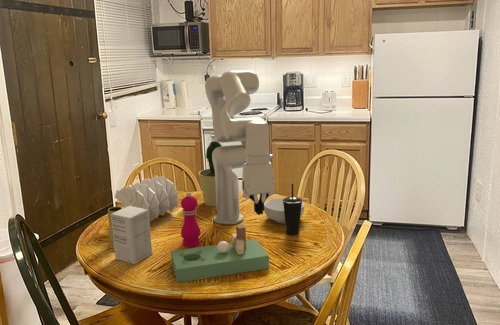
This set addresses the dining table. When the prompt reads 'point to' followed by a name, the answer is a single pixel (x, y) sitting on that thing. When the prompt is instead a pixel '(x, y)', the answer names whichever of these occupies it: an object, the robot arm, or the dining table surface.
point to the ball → (223, 247)
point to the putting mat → (217, 261)
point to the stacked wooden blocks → (239, 239)
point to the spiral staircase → (150, 196)
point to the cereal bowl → (277, 210)
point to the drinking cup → (292, 214)
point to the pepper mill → (190, 222)
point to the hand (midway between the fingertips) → (259, 213)
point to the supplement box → (131, 234)
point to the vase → (110, 211)
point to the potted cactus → (209, 177)
